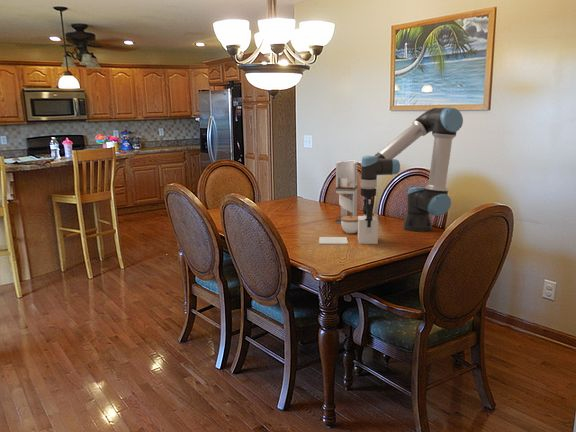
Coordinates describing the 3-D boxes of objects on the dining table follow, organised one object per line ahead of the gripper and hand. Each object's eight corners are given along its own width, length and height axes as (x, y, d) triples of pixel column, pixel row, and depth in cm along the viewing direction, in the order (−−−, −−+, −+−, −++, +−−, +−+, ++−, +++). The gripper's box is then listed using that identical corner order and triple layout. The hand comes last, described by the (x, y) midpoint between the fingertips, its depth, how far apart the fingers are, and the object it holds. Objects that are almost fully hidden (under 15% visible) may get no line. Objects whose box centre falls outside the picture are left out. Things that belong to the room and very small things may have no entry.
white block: (375, 239, 238) (376, 215, 236) (377, 243, 230) (378, 219, 227) (357, 238, 239) (357, 215, 236) (359, 243, 230) (359, 219, 228)
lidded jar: (345, 235, 247) (345, 217, 245) (337, 230, 257) (337, 213, 255) (364, 233, 250) (364, 216, 248) (356, 228, 260) (356, 212, 258)
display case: (339, 219, 284) (339, 161, 277) (356, 219, 282) (357, 161, 274) (335, 223, 274) (336, 163, 266) (353, 224, 271) (354, 163, 263)
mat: (346, 238, 241) (346, 237, 241) (347, 244, 229) (347, 243, 229) (319, 238, 242) (319, 237, 242) (319, 244, 230) (319, 243, 230)
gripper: (358, 184, 241) (357, 224, 245) (363, 191, 217) (361, 236, 221) (373, 184, 240) (371, 224, 245) (379, 191, 216) (377, 236, 221)
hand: (367, 230), depth 233 cm, fingers open, 13 cm apart
